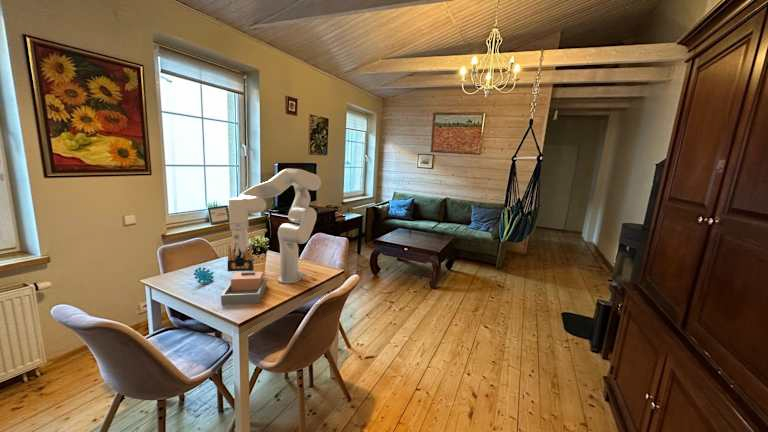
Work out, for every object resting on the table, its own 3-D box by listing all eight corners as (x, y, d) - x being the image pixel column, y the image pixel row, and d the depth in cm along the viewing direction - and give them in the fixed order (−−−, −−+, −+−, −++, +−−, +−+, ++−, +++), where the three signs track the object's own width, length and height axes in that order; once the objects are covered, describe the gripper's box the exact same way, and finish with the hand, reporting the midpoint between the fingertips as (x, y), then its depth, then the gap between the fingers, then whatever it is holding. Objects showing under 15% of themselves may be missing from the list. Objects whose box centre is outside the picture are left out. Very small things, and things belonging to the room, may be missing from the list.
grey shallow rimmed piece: (259, 303, 141) (258, 293, 140) (221, 304, 138) (220, 295, 137) (266, 285, 160) (266, 277, 159) (233, 286, 157) (233, 278, 156)
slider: (260, 289, 151) (259, 276, 149) (231, 290, 148) (230, 277, 147) (263, 282, 159) (263, 269, 158) (236, 283, 157) (235, 270, 155)
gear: (200, 284, 153) (191, 268, 155) (194, 291, 155) (185, 275, 157) (219, 279, 164) (210, 264, 166) (213, 286, 165) (204, 271, 167)
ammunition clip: (227, 271, 137) (226, 245, 135) (228, 269, 139) (227, 244, 137) (252, 270, 140) (252, 245, 137) (253, 269, 141) (253, 244, 139)
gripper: (244, 229, 129) (245, 271, 132) (252, 222, 144) (253, 259, 147) (224, 229, 127) (226, 271, 130) (234, 221, 142) (236, 259, 146)
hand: (240, 264), depth 139 cm, fingers closed on ammunition clip, 2 cm apart
